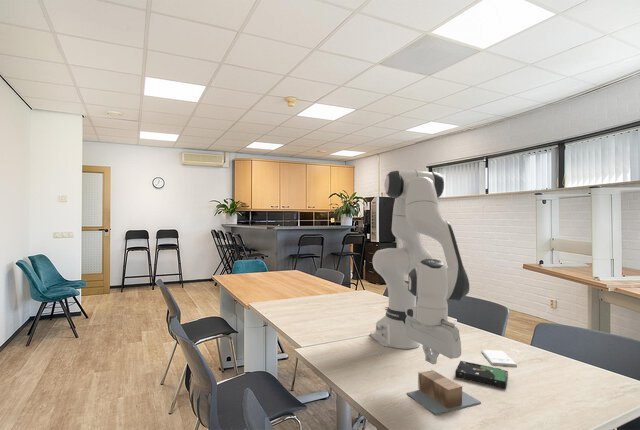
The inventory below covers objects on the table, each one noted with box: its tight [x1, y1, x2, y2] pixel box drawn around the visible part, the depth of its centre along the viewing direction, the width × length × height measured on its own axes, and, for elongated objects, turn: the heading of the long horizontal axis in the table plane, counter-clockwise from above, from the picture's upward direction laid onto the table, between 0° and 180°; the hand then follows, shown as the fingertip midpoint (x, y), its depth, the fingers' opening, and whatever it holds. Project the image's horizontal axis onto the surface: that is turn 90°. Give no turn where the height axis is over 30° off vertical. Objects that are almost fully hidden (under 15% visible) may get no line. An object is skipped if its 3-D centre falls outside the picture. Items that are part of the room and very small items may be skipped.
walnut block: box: [417, 368, 463, 409], centre depth 102 cm, size 5×5×12 cm
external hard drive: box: [481, 349, 518, 368], centre depth 132 cm, size 2×8×12 cm
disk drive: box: [454, 360, 509, 390], centre depth 116 cm, size 10×3×15 cm
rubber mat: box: [406, 389, 482, 416], centre depth 101 cm, size 12×16×1 cm
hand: (430, 362), depth 105 cm, fingers closed
